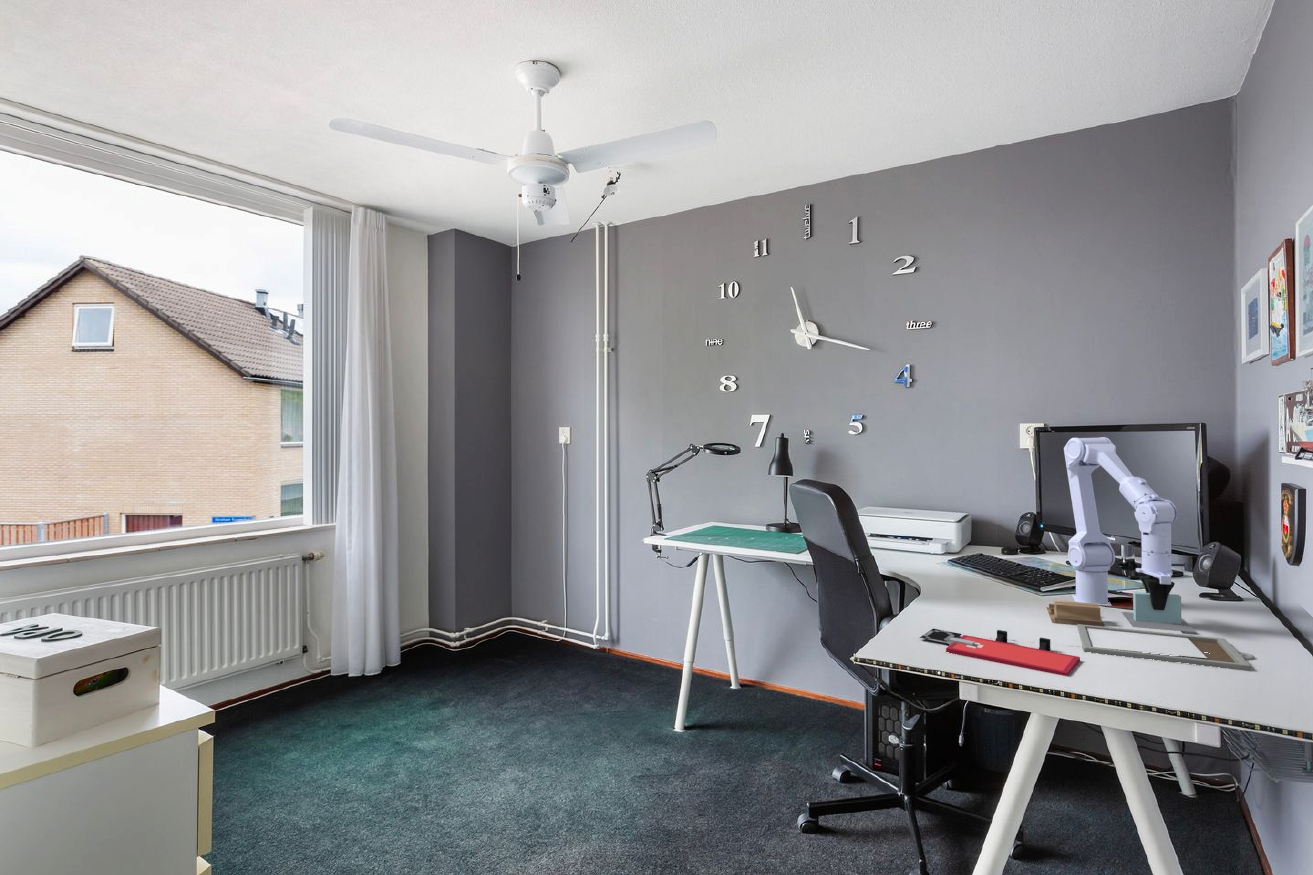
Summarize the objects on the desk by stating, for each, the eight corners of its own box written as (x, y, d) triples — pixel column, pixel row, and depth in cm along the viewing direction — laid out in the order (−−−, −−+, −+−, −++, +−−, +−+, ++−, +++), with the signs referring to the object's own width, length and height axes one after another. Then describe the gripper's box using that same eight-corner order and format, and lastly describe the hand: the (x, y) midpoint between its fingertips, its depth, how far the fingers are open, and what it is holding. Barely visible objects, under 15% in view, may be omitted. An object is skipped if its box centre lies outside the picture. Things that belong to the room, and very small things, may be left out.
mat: (1121, 613, 172) (1121, 611, 172) (1180, 618, 167) (1180, 616, 167) (1132, 628, 160) (1132, 626, 160) (1196, 634, 154) (1196, 632, 154)
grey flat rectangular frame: (1076, 623, 161) (1240, 639, 147) (1077, 630, 161) (1240, 647, 147) (1083, 647, 144) (1269, 667, 130) (1083, 654, 144) (1269, 676, 130)
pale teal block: (1133, 618, 166) (1133, 591, 166) (1178, 622, 163) (1178, 594, 162) (1135, 620, 164) (1135, 593, 164) (1181, 624, 161) (1181, 596, 161)
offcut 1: (1054, 616, 169) (1054, 600, 169) (1097, 620, 165) (1097, 603, 165) (1055, 618, 167) (1055, 602, 167) (1098, 622, 164) (1098, 605, 164)
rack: (1046, 609, 178) (1046, 602, 178) (1096, 613, 173) (1096, 606, 173) (1052, 624, 164) (1052, 617, 164) (1107, 629, 159) (1107, 622, 159)
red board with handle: (936, 630, 162) (910, 647, 151) (935, 618, 162) (910, 634, 151) (1083, 658, 142) (1067, 680, 131) (1083, 645, 142) (1067, 665, 130)
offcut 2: (1055, 619, 167) (1055, 602, 167) (1099, 622, 163) (1098, 605, 163) (1056, 621, 165) (1056, 604, 165) (1100, 624, 161) (1100, 608, 161)
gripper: (1128, 545, 171) (1128, 599, 172) (1144, 555, 158) (1145, 614, 158) (1162, 546, 169) (1162, 602, 169) (1182, 557, 155) (1182, 617, 155)
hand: (1156, 608), depth 163 cm, fingers closed on pale teal block, 2 cm apart
